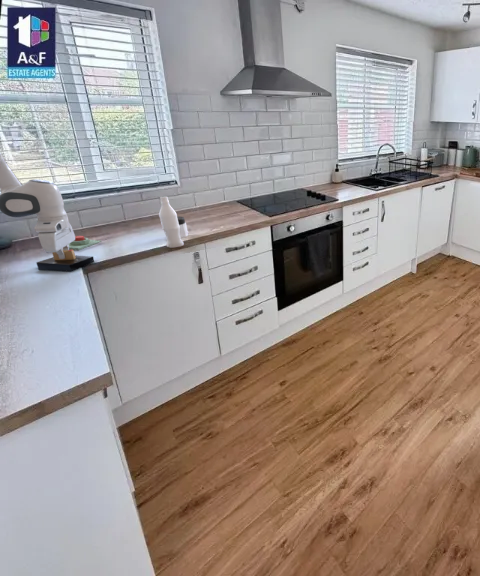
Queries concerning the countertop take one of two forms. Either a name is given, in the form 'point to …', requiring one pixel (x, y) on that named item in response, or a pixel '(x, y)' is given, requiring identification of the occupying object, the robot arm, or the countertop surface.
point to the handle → (69, 254)
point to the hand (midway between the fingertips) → (64, 257)
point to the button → (79, 238)
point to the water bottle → (170, 224)
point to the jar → (182, 227)
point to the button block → (82, 244)
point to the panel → (65, 264)
